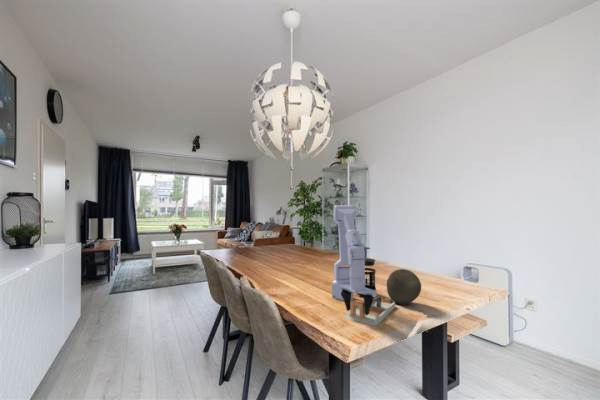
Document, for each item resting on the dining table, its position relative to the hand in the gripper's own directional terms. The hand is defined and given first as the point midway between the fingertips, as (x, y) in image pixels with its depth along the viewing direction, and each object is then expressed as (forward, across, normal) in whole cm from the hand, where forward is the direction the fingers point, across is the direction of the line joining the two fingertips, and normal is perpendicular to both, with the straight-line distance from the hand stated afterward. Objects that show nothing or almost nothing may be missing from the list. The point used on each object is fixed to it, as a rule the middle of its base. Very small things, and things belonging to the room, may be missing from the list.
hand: (357, 312), depth 104 cm
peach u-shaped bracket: (+1, 0, 0) cm, 1 cm away
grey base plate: (+3, +2, +6) cm, 7 cm away
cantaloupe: (+3, +10, +26) cm, 28 cm away
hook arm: (+3, +4, +8) cm, 10 cm away
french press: (+3, -9, +30) cm, 31 cm away
